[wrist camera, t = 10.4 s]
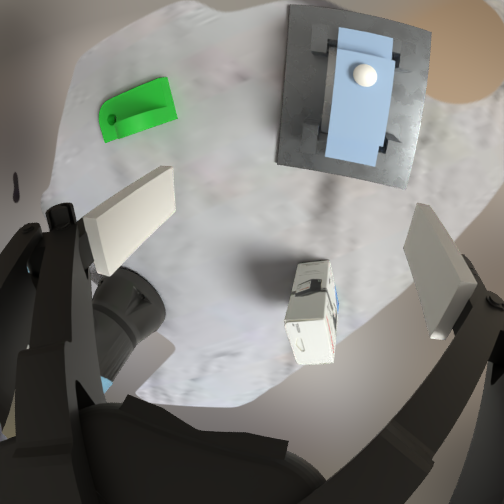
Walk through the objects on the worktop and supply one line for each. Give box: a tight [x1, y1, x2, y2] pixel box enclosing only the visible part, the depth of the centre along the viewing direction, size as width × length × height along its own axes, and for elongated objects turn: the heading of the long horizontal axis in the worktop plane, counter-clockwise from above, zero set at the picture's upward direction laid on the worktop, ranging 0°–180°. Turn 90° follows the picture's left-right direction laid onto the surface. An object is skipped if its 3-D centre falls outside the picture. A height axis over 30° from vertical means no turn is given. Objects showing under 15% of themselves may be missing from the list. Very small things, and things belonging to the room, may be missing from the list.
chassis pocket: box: [277, 5, 431, 190], centre depth 26 cm, size 16×20×6 cm
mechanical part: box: [99, 77, 178, 143], centre depth 33 cm, size 12×6×8 cm, turn 102°
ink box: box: [284, 260, 339, 365], centre depth 39 cm, size 8×5×12 cm, turn 18°
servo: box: [325, 27, 395, 167], centre depth 24 cm, size 5×13×9 cm, turn 177°
